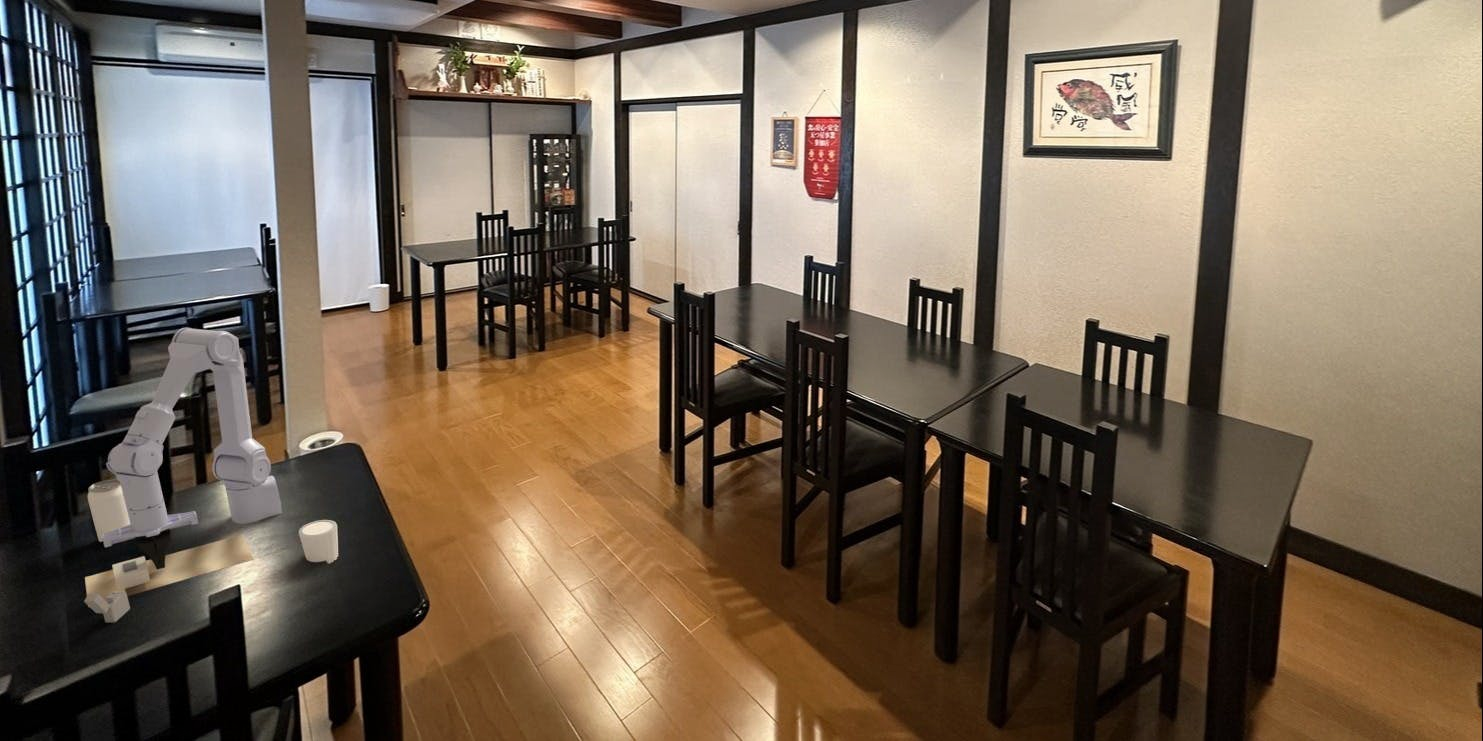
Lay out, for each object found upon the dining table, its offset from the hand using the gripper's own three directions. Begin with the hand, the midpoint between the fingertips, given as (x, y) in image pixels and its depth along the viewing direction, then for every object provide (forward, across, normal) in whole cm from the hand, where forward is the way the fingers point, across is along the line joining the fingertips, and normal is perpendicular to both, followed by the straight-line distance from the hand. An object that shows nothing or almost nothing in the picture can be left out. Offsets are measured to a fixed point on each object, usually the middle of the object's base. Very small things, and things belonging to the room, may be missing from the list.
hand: (160, 566), depth 155 cm
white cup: (+2, +26, -12) cm, 28 cm away
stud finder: (+1, -4, 0) cm, 5 cm away
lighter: (+2, -8, -13) cm, 16 cm away
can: (+2, -6, +22) cm, 23 cm away
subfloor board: (+2, +2, 0) cm, 2 cm away
